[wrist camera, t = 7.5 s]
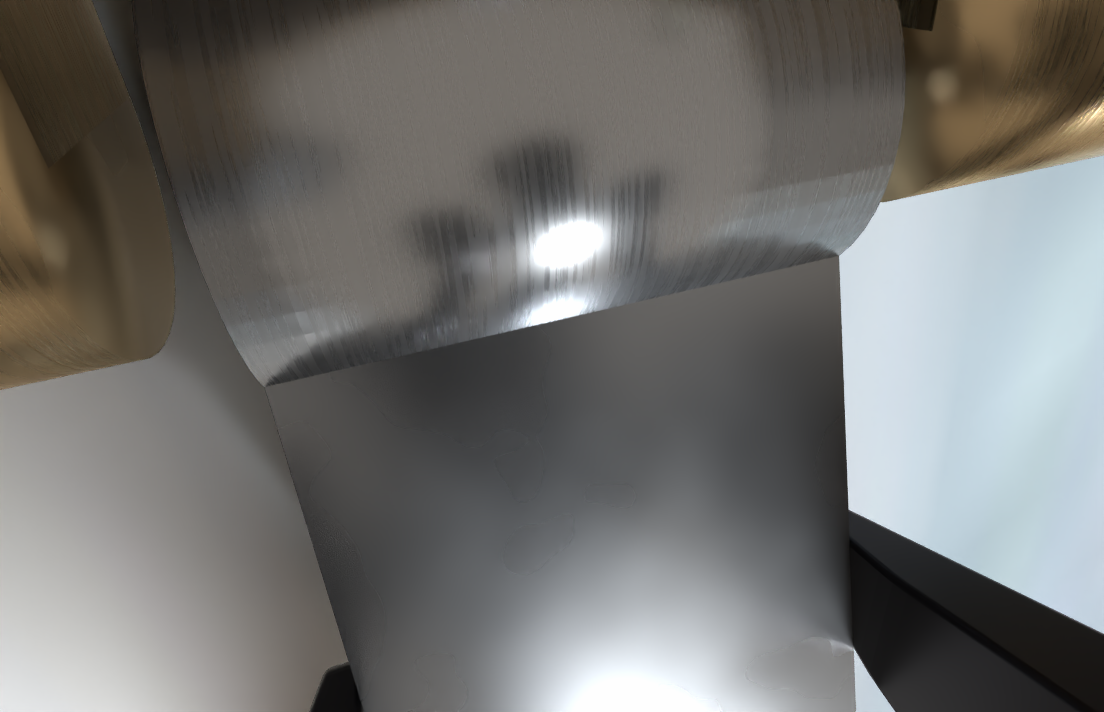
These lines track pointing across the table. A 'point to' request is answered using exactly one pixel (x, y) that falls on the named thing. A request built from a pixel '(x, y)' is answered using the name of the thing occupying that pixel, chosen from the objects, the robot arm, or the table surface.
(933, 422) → the table surface
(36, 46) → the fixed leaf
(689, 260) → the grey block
